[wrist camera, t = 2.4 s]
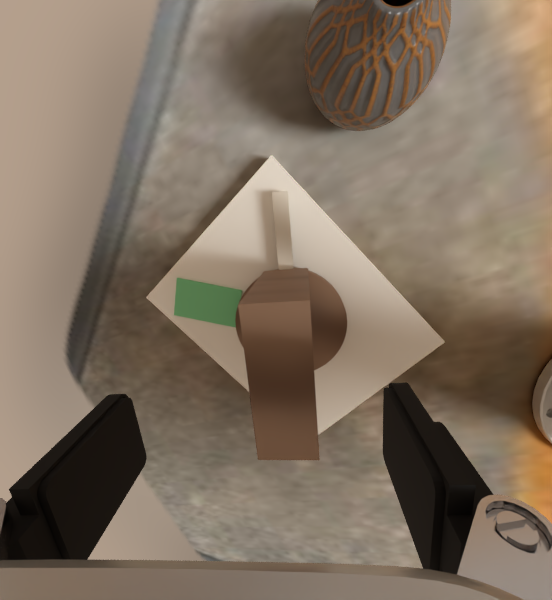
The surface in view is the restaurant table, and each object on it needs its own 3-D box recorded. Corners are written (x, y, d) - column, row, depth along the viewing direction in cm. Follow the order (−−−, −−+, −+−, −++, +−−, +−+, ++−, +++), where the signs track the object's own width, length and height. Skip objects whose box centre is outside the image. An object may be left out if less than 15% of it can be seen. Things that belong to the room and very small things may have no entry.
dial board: (436, 334, 23) (446, 342, 21) (305, 431, 26) (305, 445, 25) (273, 159, 20) (271, 154, 19) (155, 292, 24) (145, 297, 22)
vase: (316, 155, 20) (324, 110, 12) (294, 40, 18) (284, -111, 10) (420, 125, 19) (512, 51, 10) (407, -1, 17) (503, -209, 9)
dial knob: (347, 367, 22) (373, 460, 14) (244, 370, 23) (209, 459, 14) (342, 186, 19) (373, 159, 10) (221, 198, 20) (158, 183, 11)
